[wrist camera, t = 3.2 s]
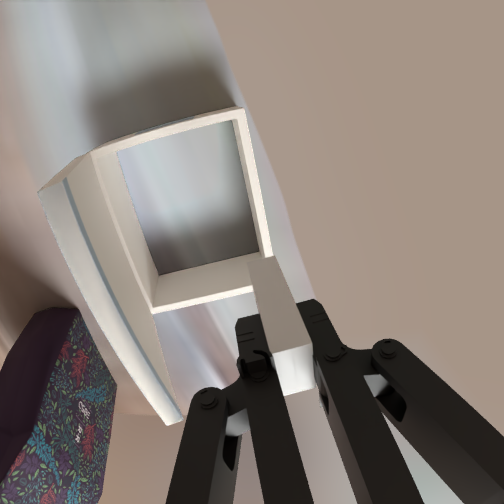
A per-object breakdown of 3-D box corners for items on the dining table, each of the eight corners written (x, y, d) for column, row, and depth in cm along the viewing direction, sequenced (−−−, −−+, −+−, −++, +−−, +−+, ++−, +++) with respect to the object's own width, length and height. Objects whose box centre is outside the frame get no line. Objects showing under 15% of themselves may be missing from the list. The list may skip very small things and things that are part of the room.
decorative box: (76, 388, 42) (47, 545, 18) (30, 308, 35) (-49, 491, 10) (120, 387, 43) (104, 559, 18) (79, 303, 35) (10, 518, 11)
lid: (183, 420, 19) (165, 426, 19) (153, 317, 30) (140, 321, 29) (62, 180, 11) (34, 193, 11) (89, 152, 22) (74, 158, 21)
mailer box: (266, 255, 36) (278, 284, 31) (155, 282, 35) (148, 314, 30) (236, 105, 28) (243, 106, 23) (106, 141, 27) (85, 152, 22)
